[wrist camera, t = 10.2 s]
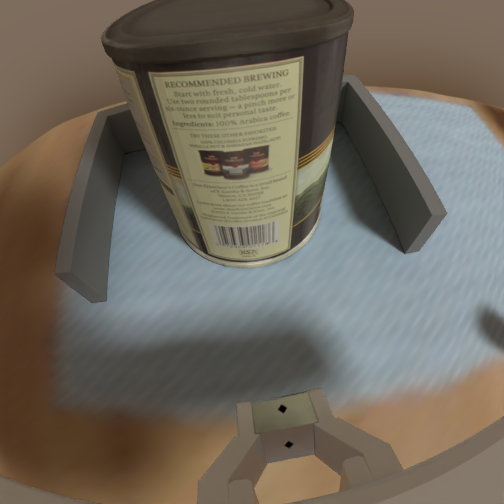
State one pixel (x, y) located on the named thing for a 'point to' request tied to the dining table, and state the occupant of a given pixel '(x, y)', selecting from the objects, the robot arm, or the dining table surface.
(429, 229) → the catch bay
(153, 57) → the coffee can
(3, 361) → the dining table surface
